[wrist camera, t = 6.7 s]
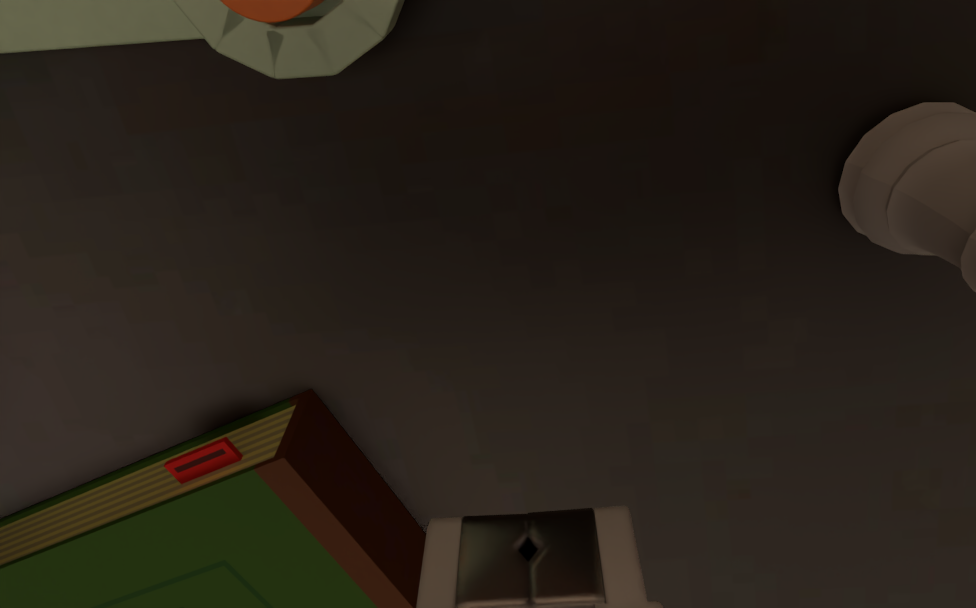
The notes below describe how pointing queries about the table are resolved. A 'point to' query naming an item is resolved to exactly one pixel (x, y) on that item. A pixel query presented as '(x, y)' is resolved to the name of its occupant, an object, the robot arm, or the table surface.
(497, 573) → the robot arm
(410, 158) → the table surface
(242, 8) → the button
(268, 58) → the scale
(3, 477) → the table surface
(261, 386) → the table surface
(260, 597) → the hardcover book
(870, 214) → the rook chess piece
